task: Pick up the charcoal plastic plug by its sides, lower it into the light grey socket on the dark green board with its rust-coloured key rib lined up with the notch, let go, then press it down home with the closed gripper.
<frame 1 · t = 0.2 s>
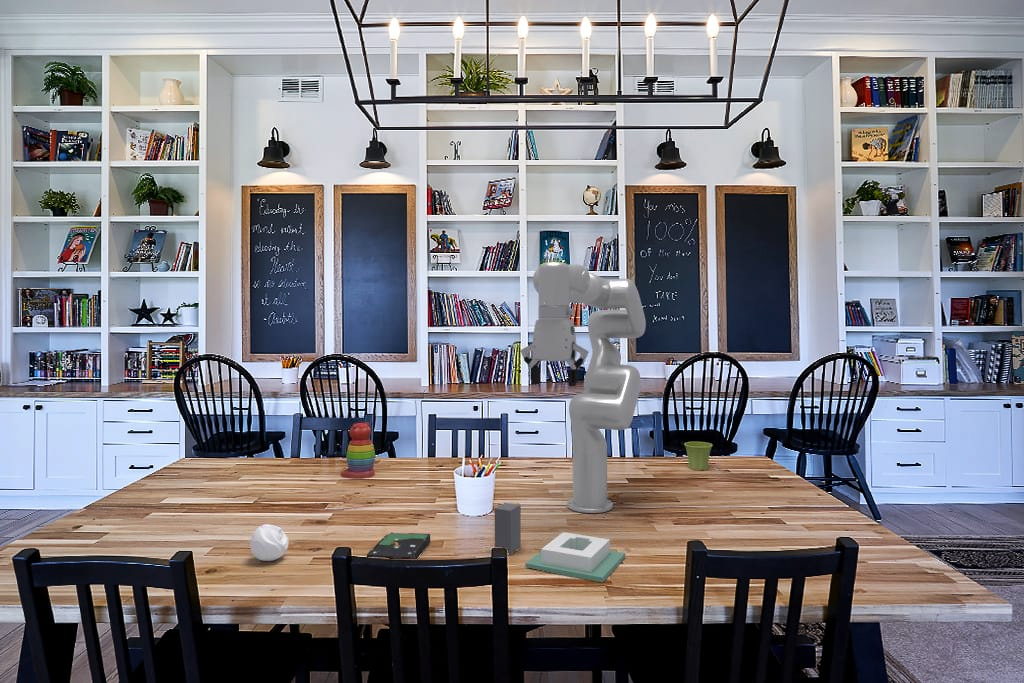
hand: (553, 384, 155), 36 cm above the table, tool pointing down, fingers open, 9 cm apart
plug: (507, 550, 145), on the table
plant pot: (698, 469, 224), on the table
crumpled white paper ball: (269, 560, 140), on the table
board: (576, 562, 138), on the table
disk drive: (399, 556, 144), on the table
stacking bear: (360, 475, 216), on the table
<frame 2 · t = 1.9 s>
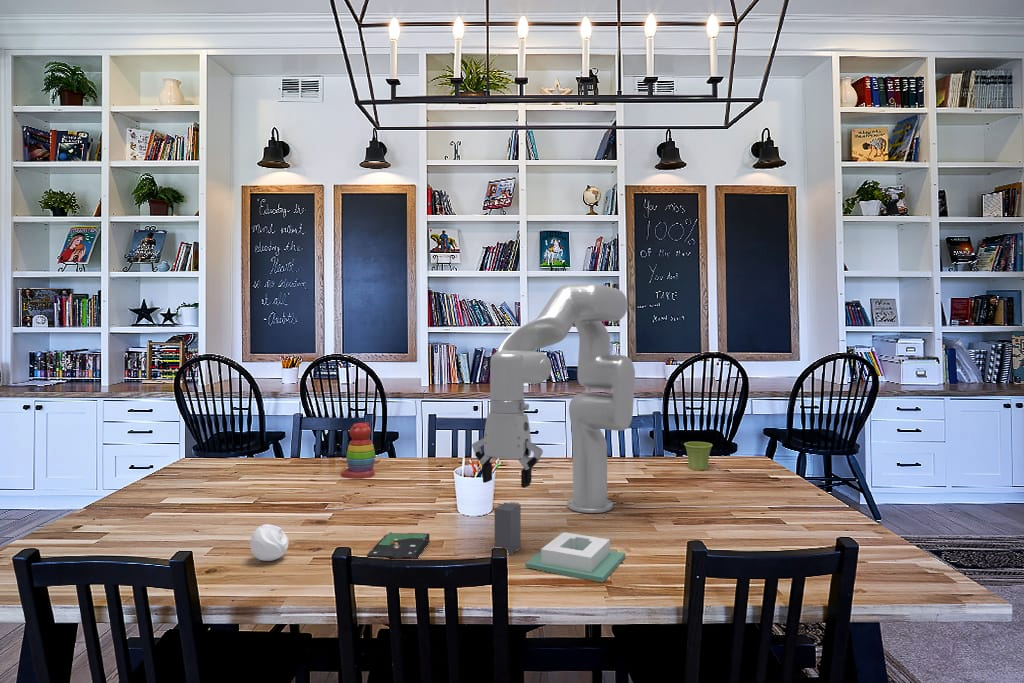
hand: (506, 483, 144), 15 cm above the table, tool pointing down, fingers open, 9 cm apart
nothing on the table moved.
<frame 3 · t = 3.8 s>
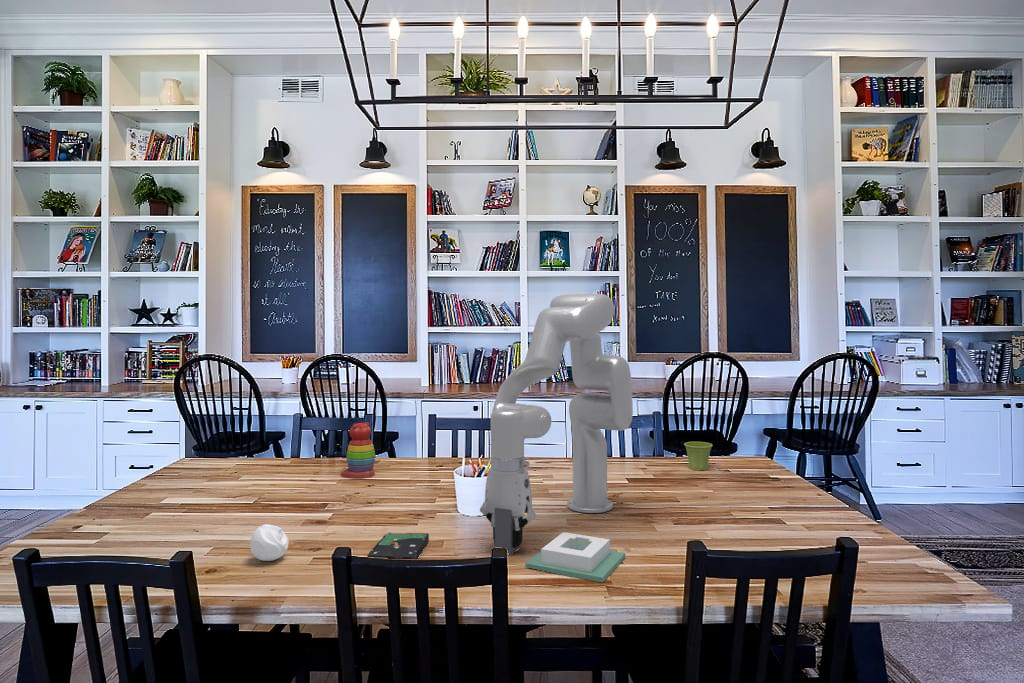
hand: (507, 543, 145), 2 cm above the table, tool pointing down, fingers closed on plug, 4 cm apart
plug: (507, 550, 145), on the table, touching gripper
everything else where it was.
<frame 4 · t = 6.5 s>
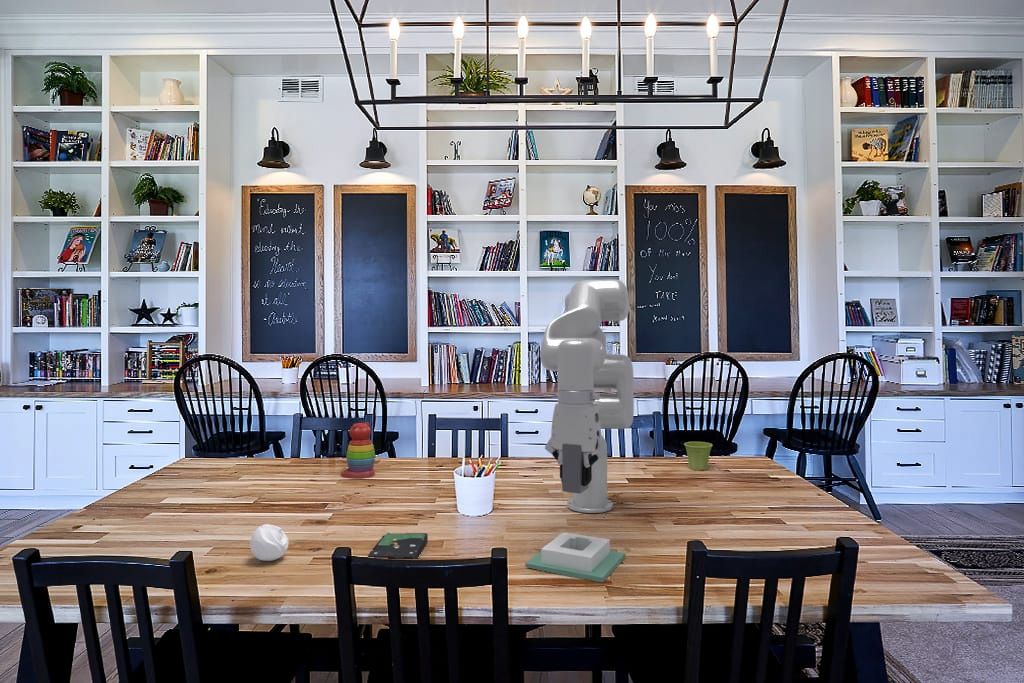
hand: (575, 482, 137), 17 cm above the table, tool pointing down, fingers closed on plug, 4 cm apart
plug: (575, 489, 137), point 16 cm above the table, touching gripper
everything else where it was.
when the fingers open (5 cm above the table, at t = 9.1 s): plug drops 2 cm, resting on board.
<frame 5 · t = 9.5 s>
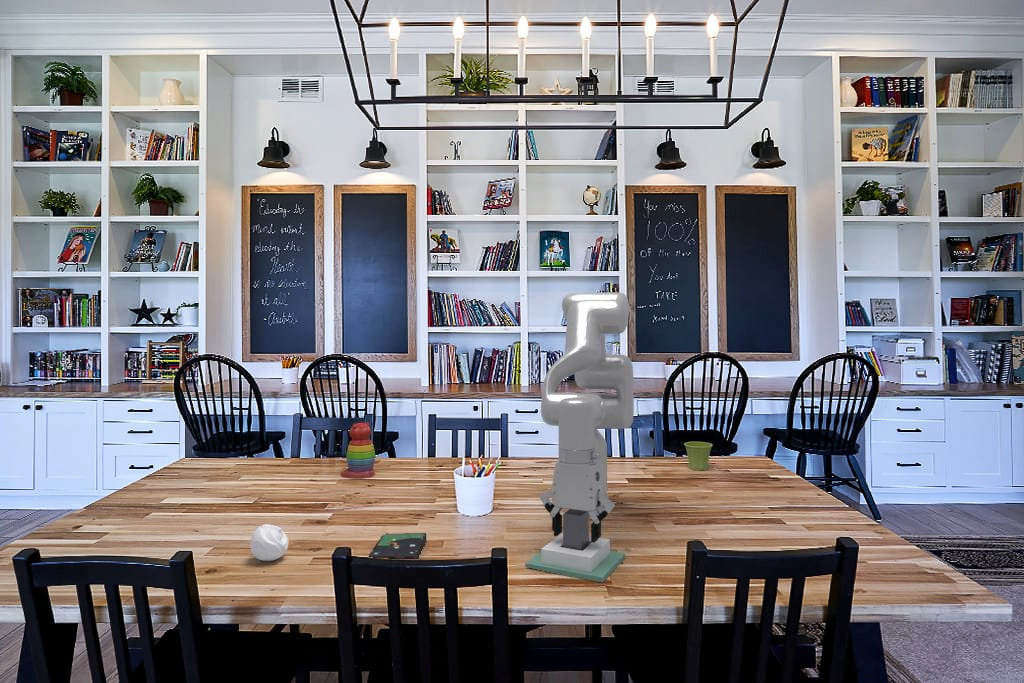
hand: (576, 536, 137), 6 cm above the table, tool pointing down, fingers open, 8 cm apart
plug: (576, 558, 138), point 1 cm above the table, touching board
everything else where it was.
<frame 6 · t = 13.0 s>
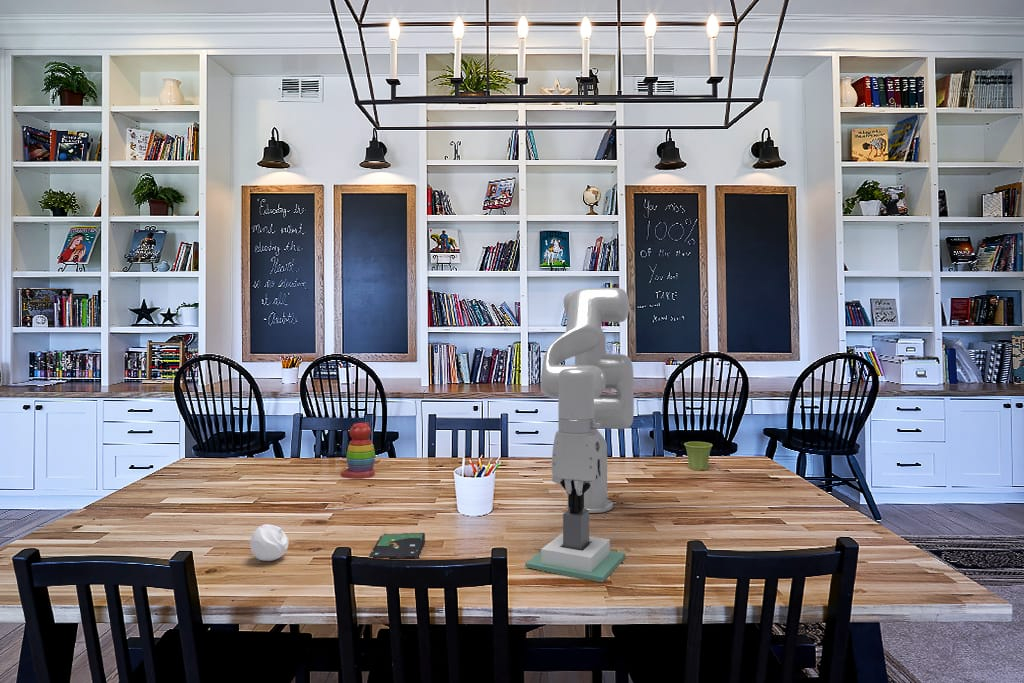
hand: (576, 511, 137), 11 cm above the table, tool pointing down, fingers closed
plug: (576, 558, 138), point 1 cm above the table, touching board, gripper
everything else where it was.
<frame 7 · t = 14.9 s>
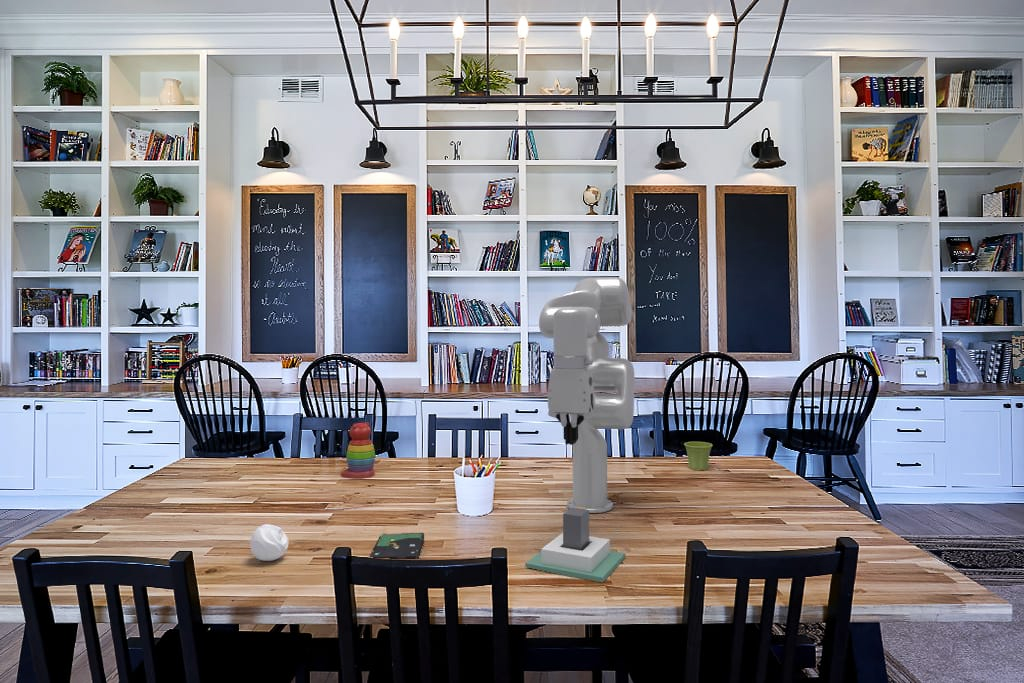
hand: (571, 443, 147), 24 cm above the table, tool pointing down, fingers closed
plug: (576, 558, 138), point 1 cm above the table, touching board
everything else where it was.
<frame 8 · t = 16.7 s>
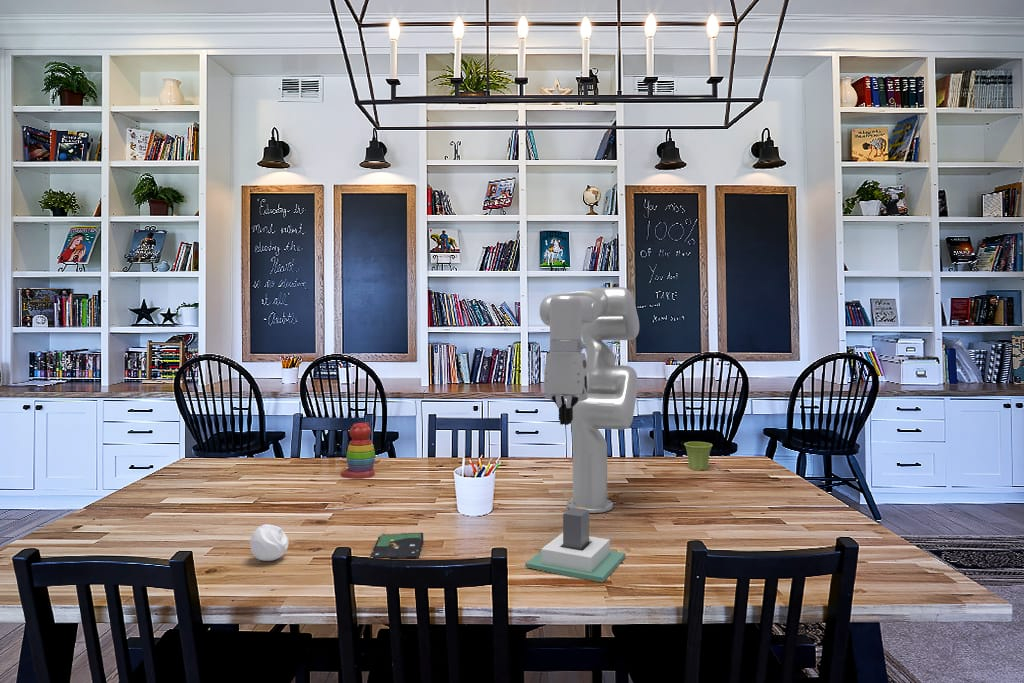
hand: (565, 423, 154), 27 cm above the table, tool pointing down, fingers closed
nothing on the table moved.
at the end: plug 0.0 cm off-centre on the board, point 1.0 cm above the board's base; plug tilted 0°; the gripper is holding nothing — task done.
